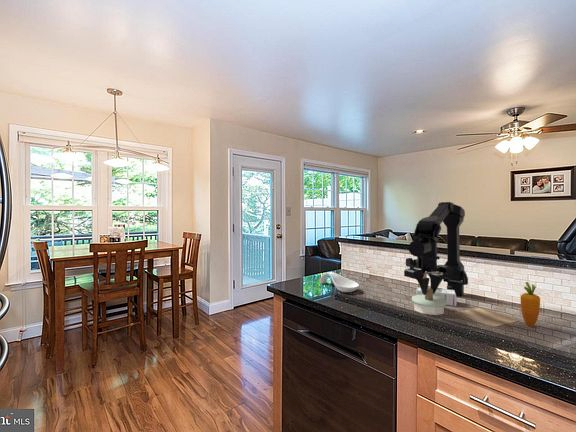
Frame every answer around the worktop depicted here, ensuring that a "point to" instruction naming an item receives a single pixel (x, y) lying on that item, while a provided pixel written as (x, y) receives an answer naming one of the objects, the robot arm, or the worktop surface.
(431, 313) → the bowl
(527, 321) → the carrot
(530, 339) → the worktop surface
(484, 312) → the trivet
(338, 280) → the spoon rest
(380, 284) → the worktop surface
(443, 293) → the syrup box
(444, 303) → the lid
